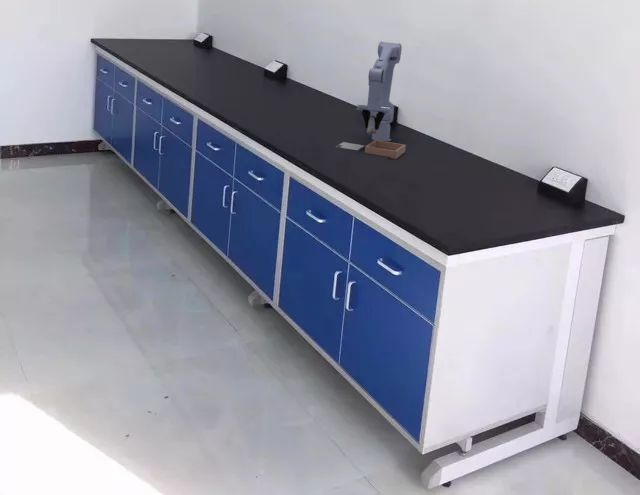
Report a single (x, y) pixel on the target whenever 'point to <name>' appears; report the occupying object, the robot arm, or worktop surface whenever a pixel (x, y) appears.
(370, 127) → the cell
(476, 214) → the worktop surface
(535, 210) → the worktop surface
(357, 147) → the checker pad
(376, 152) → the bin
